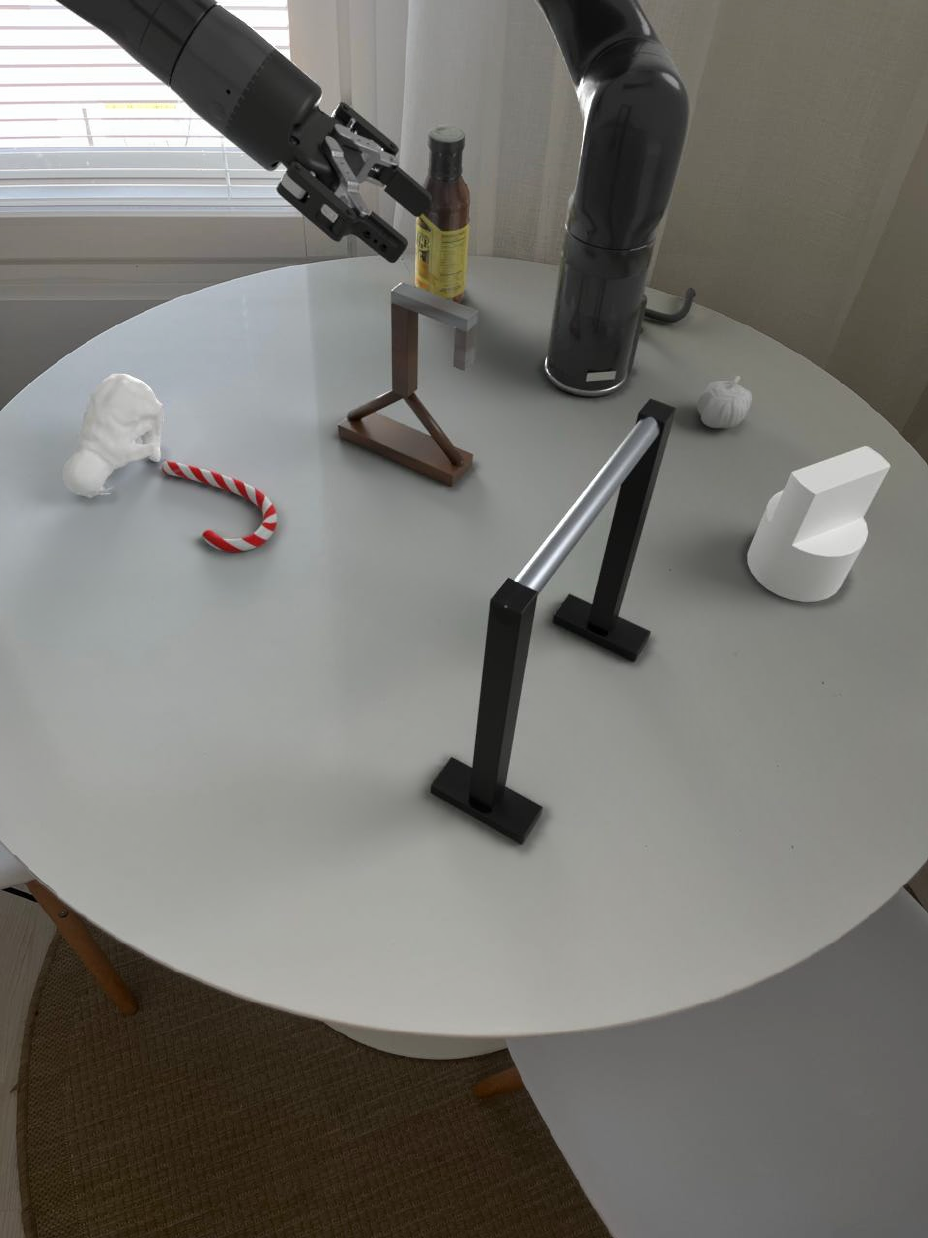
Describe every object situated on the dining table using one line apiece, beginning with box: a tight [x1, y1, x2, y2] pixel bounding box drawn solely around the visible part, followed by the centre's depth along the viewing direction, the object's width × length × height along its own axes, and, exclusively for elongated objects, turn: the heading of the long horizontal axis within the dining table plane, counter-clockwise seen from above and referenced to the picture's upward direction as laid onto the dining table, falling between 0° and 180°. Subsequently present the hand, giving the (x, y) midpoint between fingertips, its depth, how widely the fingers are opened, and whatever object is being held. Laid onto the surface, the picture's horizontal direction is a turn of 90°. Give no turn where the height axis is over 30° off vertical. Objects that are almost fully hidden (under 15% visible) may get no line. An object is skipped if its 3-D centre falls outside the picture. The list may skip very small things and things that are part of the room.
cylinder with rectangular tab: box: [746, 445, 891, 603], centre depth 81 cm, size 9×9×12 cm
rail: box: [430, 398, 677, 846], centre depth 65 cm, size 23×8×24 cm, turn 149°
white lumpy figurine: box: [62, 373, 165, 499], centre depth 87 cm, size 6×8×12 cm
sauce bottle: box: [414, 124, 471, 304], centre depth 105 cm, size 7×6×20 cm
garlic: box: [696, 375, 753, 429], centre depth 98 cm, size 6×5×5 cm
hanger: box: [337, 282, 479, 487], centre depth 87 cm, size 14×4×18 cm, turn 59°
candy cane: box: [161, 460, 278, 553], centre depth 87 cm, size 8×1×15 cm
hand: (414, 229), depth 76 cm, fingers open, 8 cm apart
